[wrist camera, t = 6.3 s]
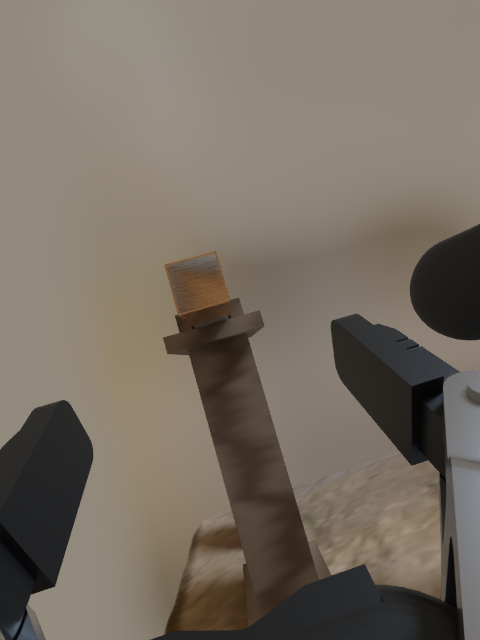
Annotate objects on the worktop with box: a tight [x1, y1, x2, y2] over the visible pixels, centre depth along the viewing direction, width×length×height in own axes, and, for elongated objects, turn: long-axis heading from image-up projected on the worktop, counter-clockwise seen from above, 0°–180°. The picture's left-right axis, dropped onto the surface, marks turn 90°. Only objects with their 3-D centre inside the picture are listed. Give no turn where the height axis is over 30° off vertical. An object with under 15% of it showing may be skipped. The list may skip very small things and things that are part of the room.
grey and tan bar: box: [165, 251, 230, 328], centre depth 31 cm, size 3×24×3 cm, turn 3°
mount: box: [163, 298, 331, 627], centre depth 36 cm, size 10×18×34 cm, turn 3°
